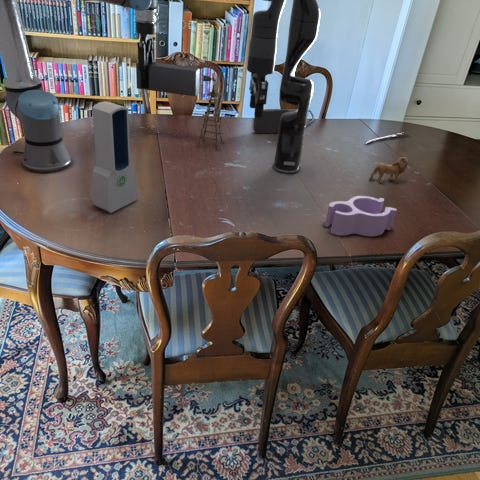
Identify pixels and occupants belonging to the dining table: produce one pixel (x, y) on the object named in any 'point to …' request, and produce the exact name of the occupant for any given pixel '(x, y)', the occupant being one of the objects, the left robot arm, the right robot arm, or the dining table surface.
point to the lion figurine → (391, 169)
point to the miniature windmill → (212, 94)
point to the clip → (359, 216)
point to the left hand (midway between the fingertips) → (147, 86)
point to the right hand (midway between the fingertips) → (255, 112)
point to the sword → (384, 137)
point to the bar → (171, 78)
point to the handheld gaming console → (269, 120)
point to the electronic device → (112, 158)
